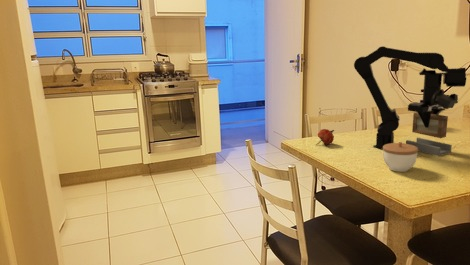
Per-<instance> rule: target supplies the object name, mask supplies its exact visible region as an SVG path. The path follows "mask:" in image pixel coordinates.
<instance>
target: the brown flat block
mask: <svg viewBox="0 0 470 265" xmlns="http://www.w3.org/2000/svg"><path fill="white" fill-rule="evenodd" d="M412 115H413V116H412V117H413V118H412V133H415V134H419V135H423V136H429V137H433V138H438V139H444V138H447V130H448V129H447V128H448V121H449V116H448V115H443V114H442V115H441V114H439V115H436V114H431V116H430V122H429V126H428V128H426V127H425V126H424V124H423V122H422V119H421V117H420V116H419V114H418V112H413V114H412Z"/></svg>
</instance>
